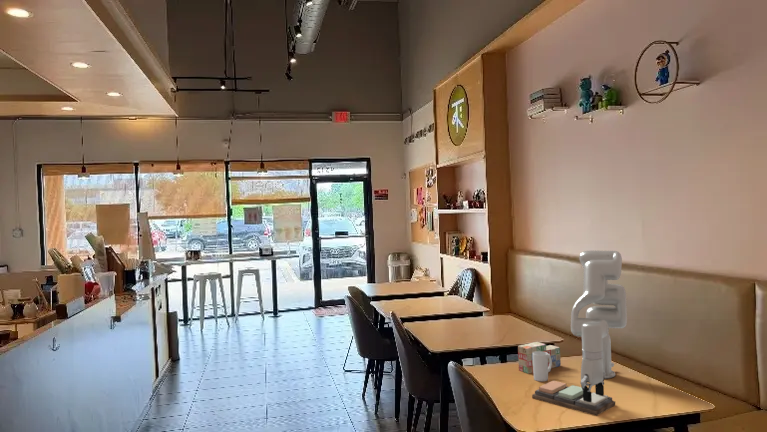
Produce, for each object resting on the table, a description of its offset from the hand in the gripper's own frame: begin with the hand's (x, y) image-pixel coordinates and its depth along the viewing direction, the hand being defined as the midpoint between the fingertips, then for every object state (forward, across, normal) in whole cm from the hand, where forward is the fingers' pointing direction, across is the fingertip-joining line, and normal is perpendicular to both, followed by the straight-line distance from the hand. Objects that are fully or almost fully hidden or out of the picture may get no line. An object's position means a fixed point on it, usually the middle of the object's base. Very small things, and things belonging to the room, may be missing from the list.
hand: (593, 397), depth 217 cm
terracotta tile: (+1, 0, -18) cm, 18 cm away
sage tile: (+1, 0, -9) cm, 9 cm away
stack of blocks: (+4, -30, -43) cm, 53 cm away
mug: (+4, -17, -33) cm, 37 cm away
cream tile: (+2, 0, 0) cm, 2 cm away
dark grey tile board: (+4, 0, -9) cm, 10 cm away
